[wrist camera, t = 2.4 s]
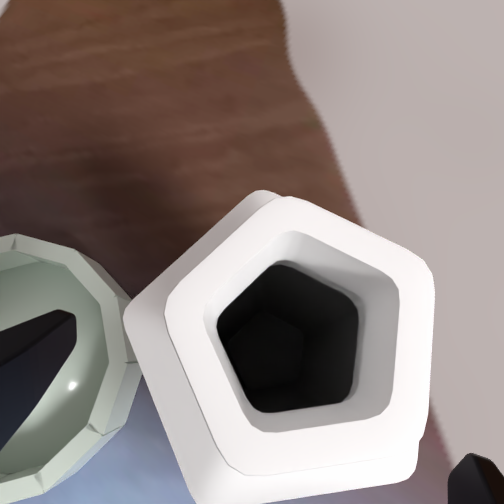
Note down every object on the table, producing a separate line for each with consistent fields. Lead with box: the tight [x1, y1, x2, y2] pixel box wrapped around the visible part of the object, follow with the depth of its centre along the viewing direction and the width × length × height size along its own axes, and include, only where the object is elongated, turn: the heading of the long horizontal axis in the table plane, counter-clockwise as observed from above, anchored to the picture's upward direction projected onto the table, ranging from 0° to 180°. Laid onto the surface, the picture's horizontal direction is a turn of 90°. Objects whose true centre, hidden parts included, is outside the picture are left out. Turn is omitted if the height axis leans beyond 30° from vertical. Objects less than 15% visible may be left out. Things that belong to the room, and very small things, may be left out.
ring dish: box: [0, 234, 142, 504], centre depth 16 cm, size 10×10×2 cm
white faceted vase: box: [123, 190, 435, 504], centre depth 10 cm, size 5×4×15 cm
